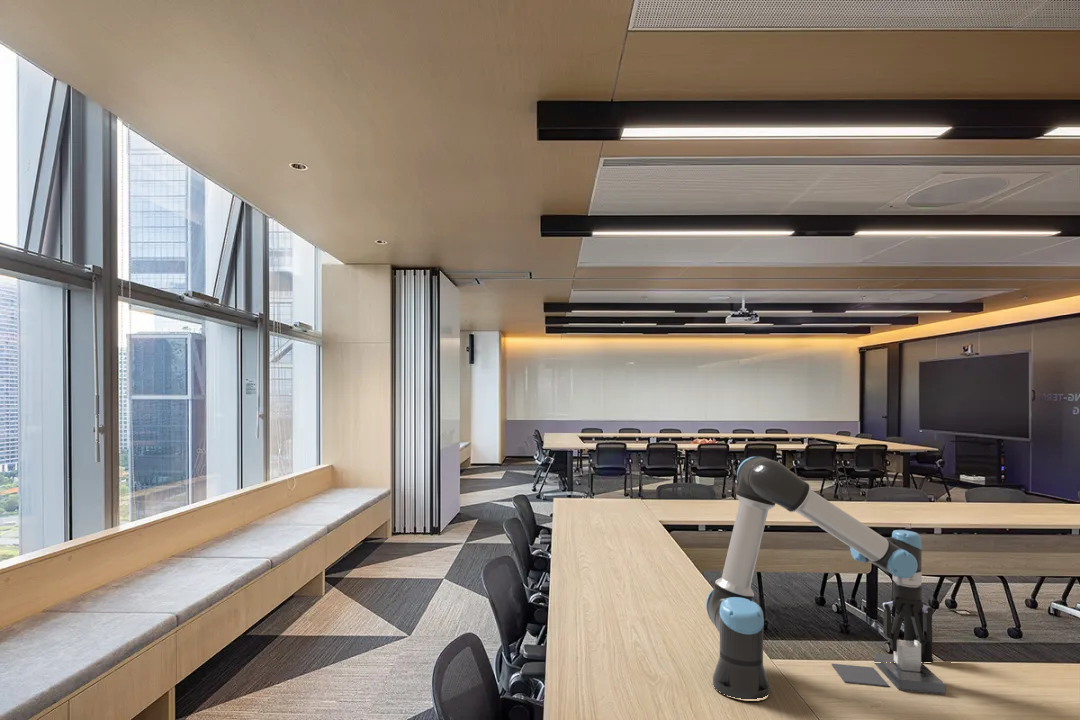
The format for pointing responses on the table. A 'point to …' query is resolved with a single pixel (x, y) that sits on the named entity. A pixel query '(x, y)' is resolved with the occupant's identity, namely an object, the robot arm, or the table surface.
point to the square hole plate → (909, 677)
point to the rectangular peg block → (909, 657)
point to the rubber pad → (859, 675)
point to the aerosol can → (911, 636)
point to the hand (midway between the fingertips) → (907, 663)
